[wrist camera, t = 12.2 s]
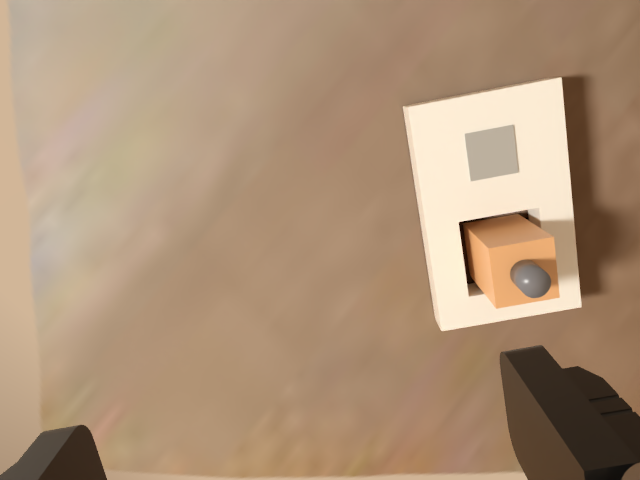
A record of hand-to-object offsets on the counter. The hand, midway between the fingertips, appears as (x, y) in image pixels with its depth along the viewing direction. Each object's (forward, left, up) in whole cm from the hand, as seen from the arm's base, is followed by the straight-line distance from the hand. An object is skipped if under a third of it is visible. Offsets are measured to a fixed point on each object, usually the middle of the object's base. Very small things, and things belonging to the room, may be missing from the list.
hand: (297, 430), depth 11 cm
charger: (+7, +12, -32) cm, 35 cm away
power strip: (+4, +12, -32) cm, 34 cm away
